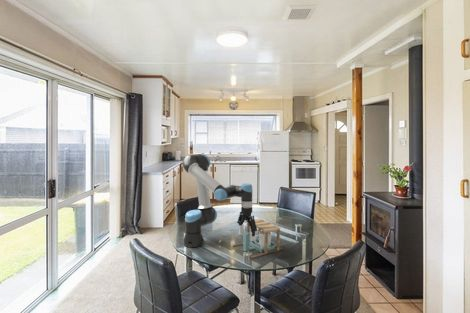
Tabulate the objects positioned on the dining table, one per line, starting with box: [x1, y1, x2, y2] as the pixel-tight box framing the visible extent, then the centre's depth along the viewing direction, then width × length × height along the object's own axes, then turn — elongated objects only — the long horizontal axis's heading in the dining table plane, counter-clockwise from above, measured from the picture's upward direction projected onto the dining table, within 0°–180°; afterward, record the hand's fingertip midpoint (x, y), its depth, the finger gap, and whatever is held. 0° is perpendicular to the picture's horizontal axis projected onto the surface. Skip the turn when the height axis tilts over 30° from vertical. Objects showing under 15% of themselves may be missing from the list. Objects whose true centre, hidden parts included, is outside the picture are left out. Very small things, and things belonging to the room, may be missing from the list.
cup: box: [254, 230, 272, 249], centre depth 187 cm, size 8×12×10 cm
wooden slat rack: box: [232, 218, 284, 259], centre depth 184 cm, size 23×28×16 cm
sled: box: [242, 231, 276, 253], centre depth 184 cm, size 18×23×12 cm
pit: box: [271, 238, 287, 248], centre depth 194 cm, size 14×7×1 cm, turn 32°
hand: (246, 237), depth 179 cm, fingers open, 13 cm apart
